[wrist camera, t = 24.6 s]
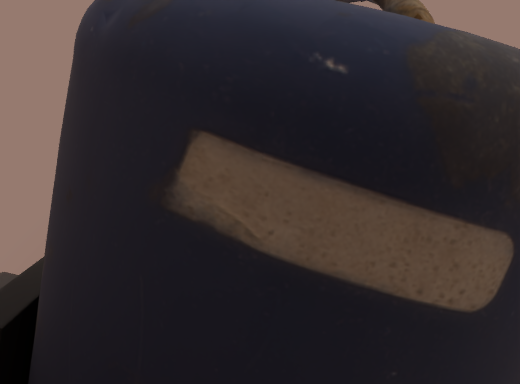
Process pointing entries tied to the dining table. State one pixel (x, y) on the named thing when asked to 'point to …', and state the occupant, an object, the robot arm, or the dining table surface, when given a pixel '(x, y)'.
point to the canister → (283, 199)
